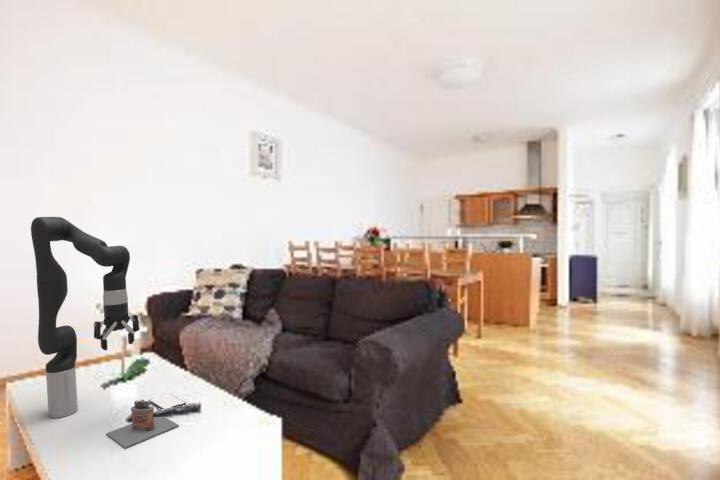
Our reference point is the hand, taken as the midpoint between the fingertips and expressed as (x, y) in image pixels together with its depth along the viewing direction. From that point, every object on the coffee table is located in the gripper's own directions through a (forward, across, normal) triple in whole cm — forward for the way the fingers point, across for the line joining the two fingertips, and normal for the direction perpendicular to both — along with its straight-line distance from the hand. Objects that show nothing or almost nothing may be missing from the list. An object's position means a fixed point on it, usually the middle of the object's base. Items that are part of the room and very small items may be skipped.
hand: (118, 346), depth 151 cm
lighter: (+28, -2, +12) cm, 30 cm away
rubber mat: (+28, -2, +12) cm, 31 cm away
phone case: (+29, -18, -3) cm, 34 cm away
